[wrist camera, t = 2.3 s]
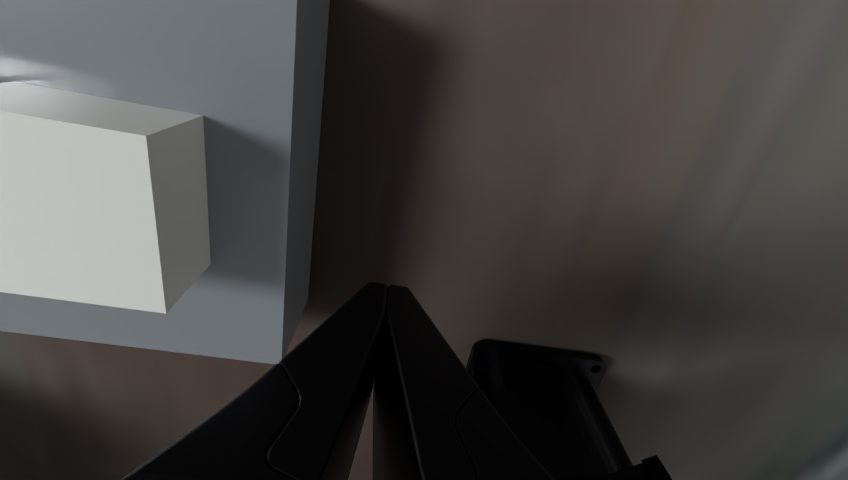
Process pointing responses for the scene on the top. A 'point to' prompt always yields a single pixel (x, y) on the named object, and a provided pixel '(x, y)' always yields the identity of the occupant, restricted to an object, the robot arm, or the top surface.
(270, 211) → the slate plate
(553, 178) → the top surface
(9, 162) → the tile
